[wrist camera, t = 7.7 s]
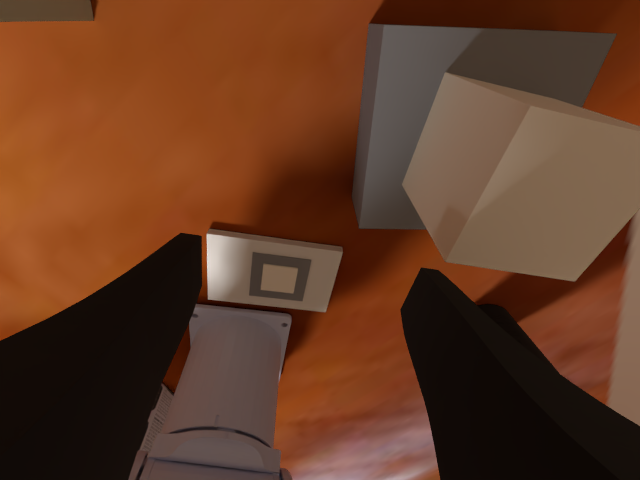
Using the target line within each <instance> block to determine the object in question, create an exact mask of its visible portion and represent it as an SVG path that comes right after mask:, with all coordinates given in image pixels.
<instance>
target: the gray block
mask: <svg viewBox="0 0 640 480" xmlns="http://www.w3.org/2000/svg"><path fill="white" fill-rule="evenodd" d="M616 35H617V34H611V33H591V32H571V31H550V30H524V29H498V28H472V27H445V26H419V25H393V24H369V27H368V37H367V47H366V57H365V68H364V78H363V88H362V98H361V108H360V118H359V128H358V138H357V148H356V158H355V169H354V179H353V189H352V201H353V205H354V209H355V213H356V217H357V222H358V226H359V229H426V227H425V225H424V223H423V222H422V220H421V218H420V216H419V214H418V213H417V211H416V209H415V207H414V206H413V204H412V202H411V200H410V198H409V197H408V195H407V193H406V191H405V189H404V188H403V186H402V183H403V180H404V178H405V175H406V173H407V170H408V167H409V165H410V162H411V159H412V157H413V154H414V152H415V149H416V146H417V144H418V141H419V139H420V136H421V133H422V131H423V128H424V126H425V123H426V120H427V118H428V115H429V113H430V110H431V107H432V105H433V102H434V100H435V97H436V94H437V92H438V89H439V87H440V84H441V81H442V79H443V76H444V73H445V72H446V73H450V74H454V75H459V76H463V77H467V78H471V79H475V80H479V81H483V82H487V83H492V84H496V85H500V86H504V87H508V88H512V89H516V90H520V91H524V92H529V93H533V94H537V95H541V96H545V97H549V98H553V99H557V100H560V101H563V102H566V103H569V104H572V105H575V106H578V107H581V108H582V106H583V104H584V102H585V100H586V98H587V96H588V94H589V91H590V89H591V87H592V85H593V83H594V81H595V79H596V77H597V75H598V73H599V70H600V68H601V66H602V64H603V62H604V60H605V58H606V56H607V54H608V52H609V49H610V47H611V45H612V43H613V41H614V39H615V37H616Z"/></svg>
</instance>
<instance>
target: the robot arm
mask: <svg viewBox="0 0 640 480" xmlns="http://www.w3.org/2000/svg"><path fill="white" fill-rule="evenodd" d="M201 286H202V237H201V236H199V235H192V234H185V233H180V234H179V235H177V236H176V237H174V238H173V239H172V240H170V241H169V242H167V243H166V244H165V245H163V246H162V247H161V248H159V249H158V250H157V251H155V252H154V253H153V254H151V255H150V256H149V257H147V258H146V259H144V260H143V261H142V262H140V263H139V264H137V265H136V266H135V267H133V268H132V269H130V270H129V271H127V272H126V273H124V274H123V275H122V276H120V277H118V278H117V279H115V280H114V281H112V282H111V283H109V284H107V285H106V286H104V287H103V288H101V289H100V290H98V291H96V292H95V293H93V294H92V295H90V296H88V297H86V298H85V299H83V300H81V301H79V302H78V303H76V304H74V305H72V306H70V307H68V308H67V309H65V310H63V311H61V312H59V313H57V314H55V315H53V316H52V317H50V318H48V319H46V320H44V321H42V322H40V323H37V324H35V325H33V326H31V327H29V328H27V329H25V330H22V331H20V332H18V333H16V334H14V335H12V336H10V337H8V338H5V339H3V340H1V341H0V480H292V477H291V475H290V473H289V471H288V470H287V469H284V468H280V457H281V451H280V450H277V449H273V444H274V431H275V419H276V407H277V395H278V383H279V380H280V375H281V370H282V365H283V360H284V356H285V351H286V346H287V341H288V336H289V331H290V326H291V321H292V317H291V315H289V314H287V313H278V312H268V311H259V310H249V309H240V308H231V307H221V306H212V305H202V304H196V303H197V299H198V296H199V293H200V289H201ZM196 314H197V315H196ZM401 317H402V324H403V329H404V335H405V339H406V343H407V346H408V349H409V353H410V356H411V359H412V363H413V366H414V369H415V372H416V376H417V379H418V382H419V385H420V388H421V392H422V395H423V398H424V401H425V405H426V409H427V413H428V417H429V422H430V426H431V431H432V436H433V441H434V446H435V451H436V457H437V463H438V468H439V474H440V480H640V426H638V425H637V424H635V423H634V422H632V421H630V420H629V419H627V418H625V417H624V416H622V415H620V414H619V413H617V412H615V411H614V410H612V409H611V408H609V407H608V406H606V405H604V404H603V403H601V402H600V401H598V400H597V399H595V398H594V397H592V396H591V395H589V394H588V393H586V392H585V391H583V390H582V389H580V388H579V387H577V386H576V385H574V384H573V383H571V382H570V381H569V380H567V379H566V378H564V377H563V376H562V375H560V374H559V373H557V372H556V371H555V370H553V369H552V368H551V367H549V366H548V365H547V364H545V363H544V362H543V361H541V360H540V359H539V358H537V357H536V356H535V355H534V354H532V353H531V352H530V351H528V350H527V349H526V348H525V347H523V346H522V345H521V344H520V343H519V342H517V341H516V340H515V339H514V338H513V337H512V336H510V335H509V334H508V333H507V332H506V331H505V330H503V329H502V328H501V327H500V326H499V325H498V324H497V323H495V322H494V321H493V320H492V319H491V318H490V317H489V316H488V315H487V314H486V313H484V312H483V311H482V310H481V309H480V308H479V307H478V306H477V305H476V304H475V303H474V302H473V301H472V300H471V299H470V298H468V297H467V296H466V295H465V294H464V293H463V292H462V291H461V290H460V289H459V288H458V287H457V286H456V285H455V284H454V283H452V282H451V281H450V280H449V279H448V278H447V277H446V276H445V275H444V274H442V273H441V272H440V271H439V270H434V269H427V268H421V269H420V271H419V273H418V275H417V277H416V279H415V281H414V283H413V285H412V287H411V289H410V291H409V293H408V295H407V297H406V299H405V301H404V303H403V306H402V308H401ZM188 324H189V330H190V345H191V349H190V352H189V354H188V357H187V360H186V363H185V366H184V368H183V371H182V374H181V377H180V380H179V382H178V385H177V388H176V391H175V394H174V396H173V399H172V402H171V405H170V408H169V410H168V413H167V416H166V419H165V421H164V424H163V427H162V430H161V433H158V434H157V435H156V438H155V440H154V443H153V446H152V448H151V451H150V454H149V457H148V451H142V450H139V451H138V448H139V445H140V442H141V439H142V436H143V433H144V430H145V427H146V424H147V422H148V419H149V416H150V413H151V410H152V407H153V404H154V401H155V398H156V396H157V393H158V391H159V388H160V386H161V383H162V381H163V378H164V376H165V374H166V372H167V370H168V368H169V365H170V363H171V361H172V359H173V357H174V354H175V352H176V350H177V348H178V346H179V343H180V341H181V339H182V337H183V335H184V332H185V330H186V328H187V326H188ZM147 457H148V458H147Z"/></svg>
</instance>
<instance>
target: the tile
mask: <svg viewBox="0 0 640 480" xmlns="http://www.w3.org/2000/svg"><path fill="white" fill-rule="evenodd" d="M342 254H343V249H342V247H340V246H332V245H325V244H318V243H310V242H303V241H296V240H289V239H281V238H274V237H267V236H259V235H252V234H245V233H237V232H230V231H223V230H216V229H209V230H208V232H207V279H208V300H217V301H227V302H236V303H245V304H254V305H263V306H273V307H282V308H291V309H300V310H310V311H319V312H326V310H327V306H328V303H329V299H330V296H331V292H332V289H333V285H334V282H335V278H336V275H337V271H338V268H339V264H340V261H341V257H342Z"/></svg>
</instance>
